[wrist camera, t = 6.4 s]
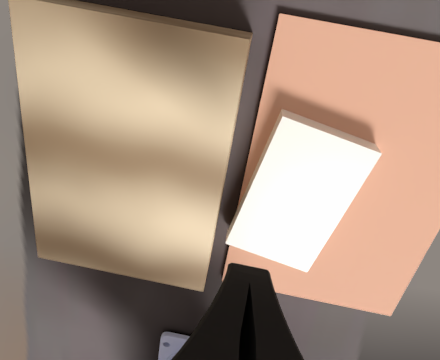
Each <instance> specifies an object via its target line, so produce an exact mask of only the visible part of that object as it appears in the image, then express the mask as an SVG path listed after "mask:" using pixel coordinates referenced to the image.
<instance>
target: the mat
mask: <svg viewBox="0 0 440 360" xmlns="http://www.w3.org/2000/svg"><path fill="white" fill-rule="evenodd" d="M281 109H284V110H287V111H290V112H292V113H295V114H298V115H300V116H303V117H306V118H308V119H311V120H314V121H316V122H319V123H321V124H324V125H327V126H329V127H332V128H335V129H337V130H340V131H343V132H345V133H348V134H351V135H353V136H356V137H359V138H361V139H364V140H367V141H369V142H372V143H374V144H376V145H377V147H378V148H379V150H380V151H381V153H382V155H381V156H380V158H379V159H378V161H377V163H376V164H375V166H374V167H373V169H372V170H371V172H370V174H369V175H368V177H367V178H366V180H365V182H364V183H363V185H362V186H361V188H360V189H359V191H358V193H357V194H356V196H355V197H354V199H353V201H352V202H351V204H350V205H349V207H348V208H347V210H346V212H345V213H344V215H343V216H342V218H341V220H340V221H339V223H338V224H337V226H336V227H335V229H334V231H333V232H332V234H331V235H330V237H329V239H328V240H327V242H326V243H325V245H324V247H323V248H322V250H321V251H320V253H319V254H318V256H317V258H316V259H315V261H314V262H313V264H312V266H311V267H310V269H309V270H308V272H305V271H302V270H299V269H296V268H293V267H290V266H288V265H285V264H282V263H279V262H276V261H273V260H271V259H268V258H265V257H262V256H259V255H257V254H254V253H251V252H248V251H245V250H242V249H240V248H237V247H234V246H231V245H229V249H228V254H227V258H226V263H225V268H224V272H223V277H222V281H223V280H224V278H225V275H226V272H227V267H228V264H230V263H237V264H242V265H247V266H252V267H256V268H261V269H266V270H268V271H269V272H270V275H271V279H272V283H273V287H274V290H275V292H277V293H282V294H287V295H291V296H296V297H301V298H306V299H311V300H315V301H320V302H325V303H330V304H335V305H340V306H344V307H349V308H354V309H359V310H364V311H368V312H373V313H378V314H383V315H388V316H391V315H392V313H393V311H394V309H395V308H396V305H397V304H398V302H399V300H400V299H401V297H402V295H403V293H404V292H405V290H406V288H407V286H408V284H409V283H410V280H411V279H412V277H413V275H414V274H415V272H416V270H417V268H418V266H419V265H420V263H421V261H422V259H423V258H424V256H425V254H426V252H427V250H428V249H429V247H430V245H431V243H432V241H433V240H434V238H435V236H436V234H437V233H438V231H439V229H440V42H436V41H431V40H425V39H420V38H414V37H409V36H403V35H398V34H392V33H387V32H381V31H376V30H370V29H365V28H359V27H354V26H348V25H343V24H337V23H332V22H326V21H321V20H315V19H310V18H304V17H299V16H293V15H288V14H282V13H279V17H278V22H277V27H276V31H275V36H274V41H273V45H272V50H271V54H270V59H269V64H268V68H267V73H266V78H265V82H264V87H263V91H262V96H261V101H260V105H259V110H258V115H257V119H256V124H255V129H254V133H253V138H252V142H251V147H250V152H249V156H248V161H247V166H246V170H245V175H244V180H243V184H242V189H241V193H240V198H239V203H238V206H239V204H240V202H241V200H242V197H243V195H244V193H245V190H246V188H247V186H248V184H249V181H250V179H251V177H252V175H253V172H254V170H255V168H256V166H257V163H258V161H259V159H260V157H261V154H262V152H263V150H264V148H265V145H266V143H267V141H268V139H269V136H270V134H271V132H272V130H273V127H274V125H275V123H276V121H277V118H278V116H279V114H280V112H281ZM237 209H238V207H237Z"/></svg>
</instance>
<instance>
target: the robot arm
mask: <svg viewBox="0 0 440 360" xmlns="http://www.w3.org/2000/svg"><path fill="white" fill-rule="evenodd" d="M158 360H304V359H303V357H302V355H301V353H300V351H299V349H298V347H297V345H296V343H295V341H294V338H293V336H292V334H291V332H290V329H289V327H288V325H287V322H286V320H285V317H284V315H283V312H282V310H281V307H280V305H279V302H278V299H277V296H276V293H275V290H274V287H273V283H272V279H271V275H270V272H269V271H268V270H266V269H261V268H256V267H252V266H247V265H242V264H237V263H230V264H228V267H227V272H226V275H225V278H224V280H223V282H222V285H221V287H220V289H219V291H218V293H217V295H216V296H215V298H214V300H213V302H212V304H211V306H210V307H209V309H208V310H207V312H206V314H205V315H204V317H203V318H202V320H201V321H200V323H199V324H198V326H197V327H196V329H195V330H194V331H193V333H192V334H191V336H186V335H182V334H177V333H172V332H163V333H162V335H161V338H160V347H159V356H158Z"/></svg>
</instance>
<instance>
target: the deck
mask: <svg viewBox="0 0 440 360" xmlns="http://www.w3.org/2000/svg"><path fill="white" fill-rule="evenodd" d="M8 2H9V10H10V19H11V28H12V37H13V45H14V54H15V63H16V72H17V80H18V89H19V98H20V106H21V115H22V124H23V132H24V141H25V150H26V159H27V167H28V176H29V185H30V193H31V202H32V211H33V220H34V228H35V237H36V246H37V254H38V257H39V258H44V259H49V260H53V261H58V262H63V263H68V264H73V265H77V266H82V267H87V268H92V269H96V270H101V271H106V272H111V273H115V274H120V275H125V276H130V277H135V278H139V279H144V280H149V281H154V282H158V283H163V284H168V285H173V286H178V287H182V288H187V289H192V290H197V291H201V292H203V290H204V286H205V281H206V277H207V272H208V268H209V263H210V258H211V253H212V247H213V242H214V237H215V231H216V226H217V221H218V215H219V210H220V205H221V199H222V194H223V189H224V183H225V178H226V173H227V167H228V162H229V157H230V151H231V146H232V141H233V135H234V130H235V125H236V119H237V114H238V109H239V103H240V98H241V93H242V87H243V82H244V77H245V71H246V66H247V61H248V55H249V50H250V45H251V39H252V34H253V33H251V32H246V31H240V30H235V29H229V28H224V27H218V26H213V25H208V24H202V23H197V22H191V21H186V20H180V19H175V18H170V17H164V16H159V15H153V14H148V13H142V12H137V11H132V10H126V9H121V8H115V7H110V6H104V5H99V4H94V3H88V2H83V1H77V0H8Z"/></svg>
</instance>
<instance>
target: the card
mask: <svg viewBox="0 0 440 360" xmlns="http://www.w3.org/2000/svg"><path fill="white" fill-rule="evenodd" d="M381 155H382V153H381V151H380V150H379V148H378V147H377V145H376V144H374V143H372V142H369V141H367V140H364V139H361V138H359V137H356V136H353V135H351V134H348V133H345V132H343V131H340V130H337V129H335V128H332V127H329V126H327V125H324V124H321V123H319V122H316V121H314V120H311V119H308V118H306V117H303V116H300V115H298V114H295V113H292V112H290V111H287V110H284V109H281V112H280V114H279V116H278V118H277V121H276V123H275V125H274V127H273V130H272V132H271V134H270V136H269V139H268V141H267V143H266V145H265V148H264V150H263V152H262V154H261V157H260V159H259V161H258V163H257V166H256V168H255V170H254V172H253V175H252V177H251V179H250V181H249V184H248V186H247V188H246V190H245V193H244V195H243V197H242V200H241V202H240V204H239V206H238V209H237V211H236V213H235V215H234V218H233V220H232V222H231V224H230V227H229V229H228V231H227V237H226V243H225V244H228V245H231V246H234V247H237V248H240V249H242V250H245V251H248V252H251V253H254V254H257V255H259V256H262V257H265V258H268V259H271V260H273V261H276V262H279V263H282V264H285V265H288V266H290V267H293V268H296V269H299V270H302V271H305V272H308V270H309V269H310V267H311V266H312V264H313V262H314V261H315V259H316V258H317V256H318V254H319V253H320V251H321V250H322V248H323V247H324V245H325V243H326V242H327V240H328V239H329V237H330V235H331V234H332V232H333V231H334V229H335V227H336V226H337V224H338V223H339V221H340V220H341V218H342V216H343V215H344V213H345V212H346V210H347V208H348V207H349V205H350V204H351V202H352V201H353V199H354V197H355V196H356V194H357V193H358V191H359V189H360V188H361V186H362V185H363V183H364V182H365V180H366V178H367V177H368V175H369V174H370V172H371V170H372V169H373V167H374V166H375V164H376V163H377V161H378V159H379V158H380V156H381Z"/></svg>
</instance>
